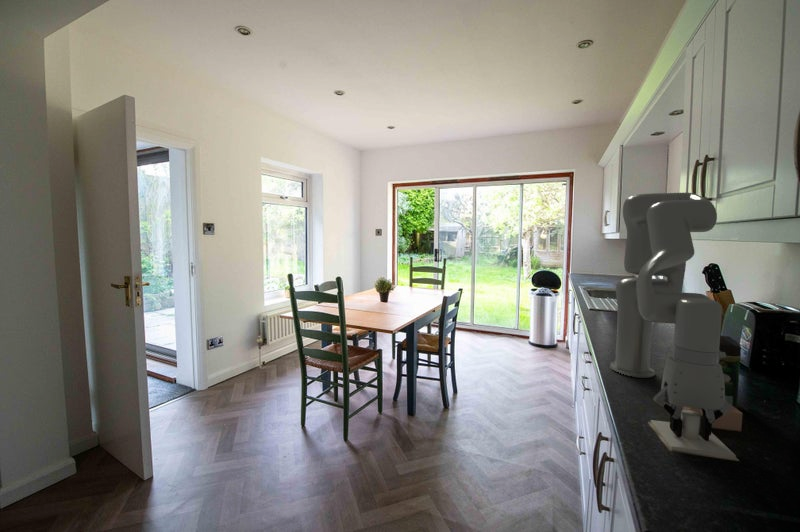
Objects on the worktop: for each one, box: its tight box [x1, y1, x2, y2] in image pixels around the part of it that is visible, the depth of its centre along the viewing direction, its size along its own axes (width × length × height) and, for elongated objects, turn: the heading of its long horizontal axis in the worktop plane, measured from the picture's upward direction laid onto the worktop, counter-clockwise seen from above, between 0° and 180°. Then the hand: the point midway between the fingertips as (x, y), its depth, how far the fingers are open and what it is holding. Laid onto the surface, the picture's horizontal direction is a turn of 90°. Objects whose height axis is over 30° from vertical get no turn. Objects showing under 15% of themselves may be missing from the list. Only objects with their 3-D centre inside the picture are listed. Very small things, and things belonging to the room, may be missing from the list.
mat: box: [647, 421, 740, 462], centre depth 78 cm, size 12×12×1 cm
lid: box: [650, 410, 737, 459], centre depth 77 cm, size 11×11×6 cm
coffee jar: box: [718, 334, 743, 409], centre depth 94 cm, size 10×8×19 cm
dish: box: [680, 404, 743, 433], centre depth 87 cm, size 10×10×5 cm
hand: (689, 434), depth 77 cm, fingers open, 4 cm apart
